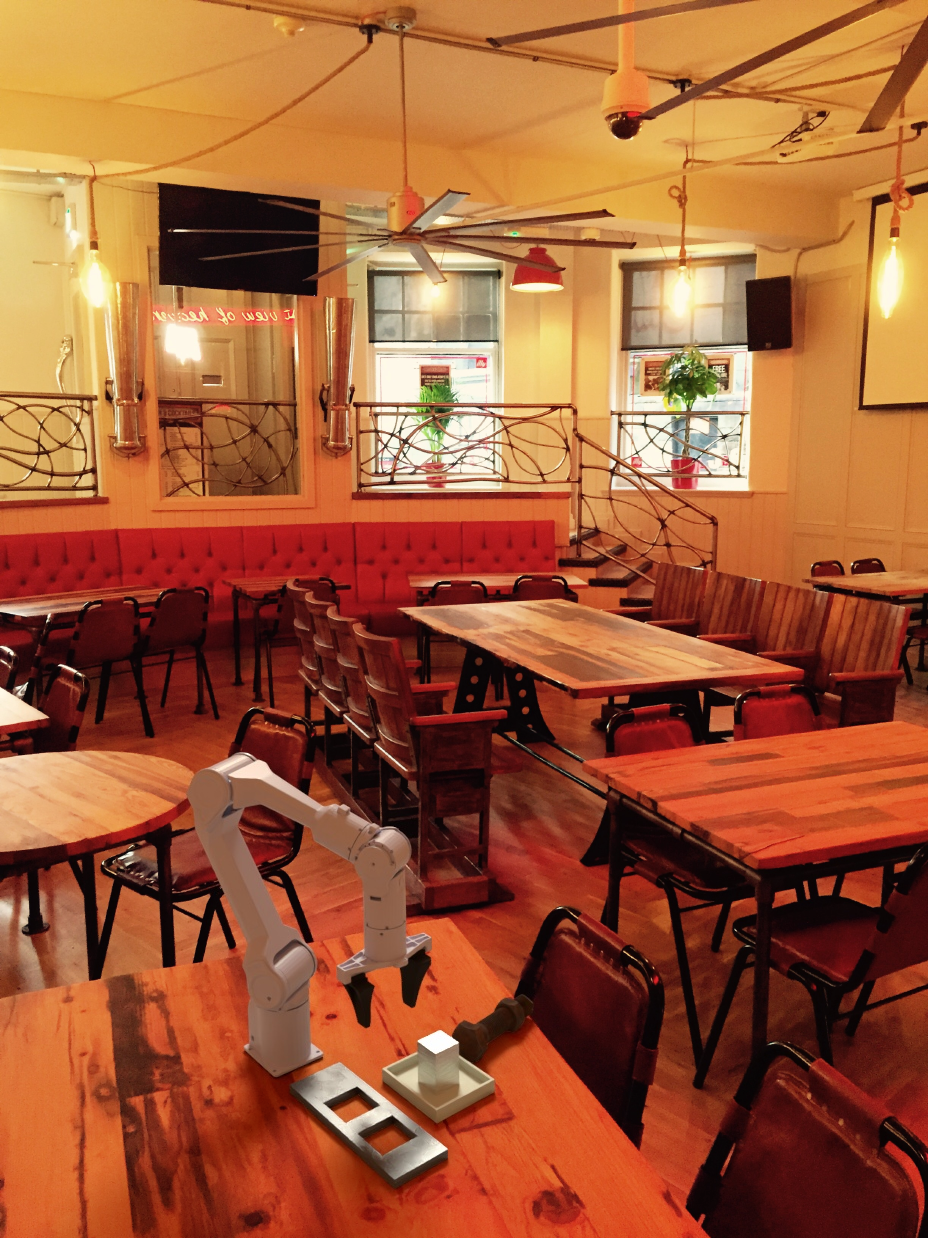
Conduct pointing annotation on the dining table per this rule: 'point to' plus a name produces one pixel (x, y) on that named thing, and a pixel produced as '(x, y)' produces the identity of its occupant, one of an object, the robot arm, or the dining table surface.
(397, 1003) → the dining table surface
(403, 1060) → the tray
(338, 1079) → the metal plate with holes
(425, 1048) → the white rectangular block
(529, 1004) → the bolt
